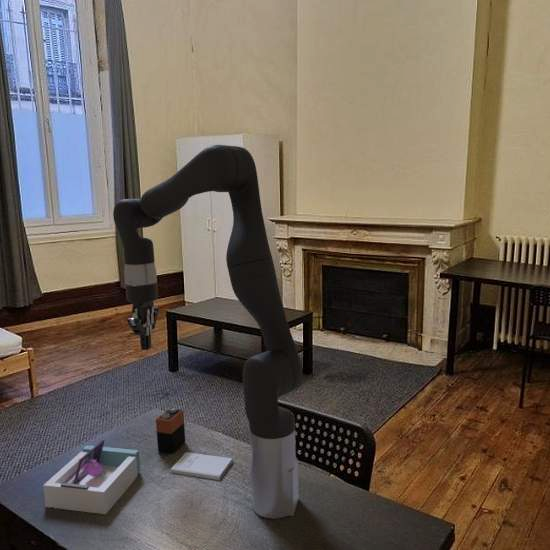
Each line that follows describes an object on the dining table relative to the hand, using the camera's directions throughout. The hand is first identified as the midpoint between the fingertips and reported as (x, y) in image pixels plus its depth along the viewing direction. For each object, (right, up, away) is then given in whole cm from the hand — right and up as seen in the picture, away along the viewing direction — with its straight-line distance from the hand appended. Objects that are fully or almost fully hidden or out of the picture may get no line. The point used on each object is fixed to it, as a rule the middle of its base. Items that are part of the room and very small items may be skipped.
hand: (146, 348), depth 130 cm
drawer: (-8, -29, -14) cm, 33 cm away
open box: (-8, -29, -15) cm, 34 cm away
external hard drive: (+15, -28, -6) cm, 32 cm away
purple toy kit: (-9, -27, -12) cm, 31 cm away
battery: (+6, -26, +3) cm, 27 cm away
